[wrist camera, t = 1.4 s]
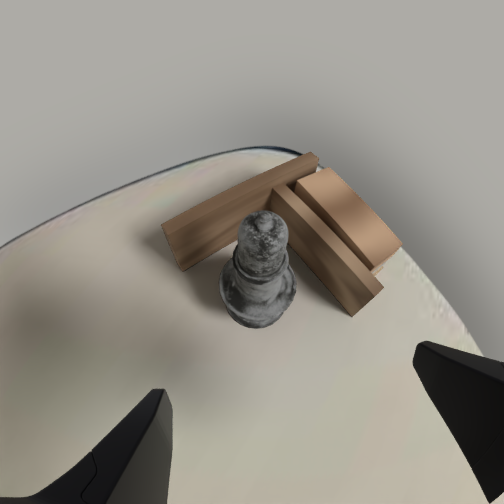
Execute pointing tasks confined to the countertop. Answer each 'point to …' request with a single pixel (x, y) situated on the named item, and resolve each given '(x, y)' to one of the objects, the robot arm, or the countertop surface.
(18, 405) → the countertop surface
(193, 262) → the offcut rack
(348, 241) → the teak offcut
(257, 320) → the grey rounded upright piece
